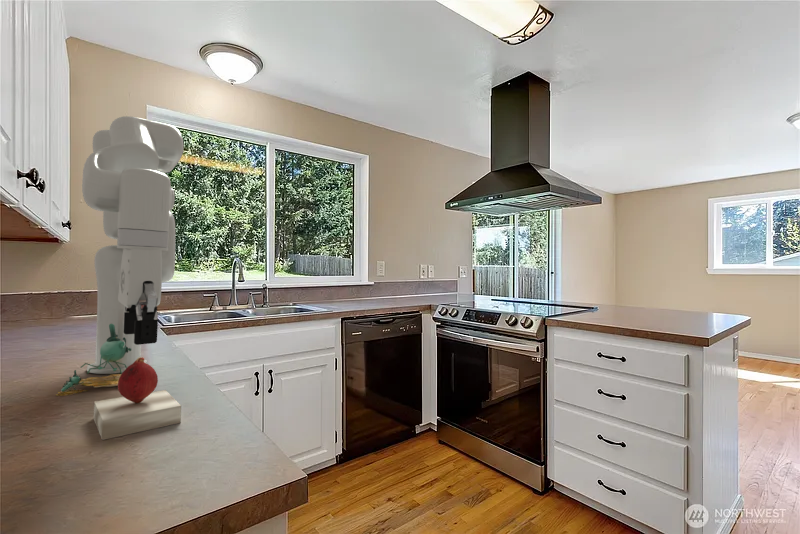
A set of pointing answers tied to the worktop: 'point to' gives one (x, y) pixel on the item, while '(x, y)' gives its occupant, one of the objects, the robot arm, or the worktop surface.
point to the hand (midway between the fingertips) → (139, 338)
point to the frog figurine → (108, 352)
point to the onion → (137, 381)
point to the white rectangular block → (135, 414)
